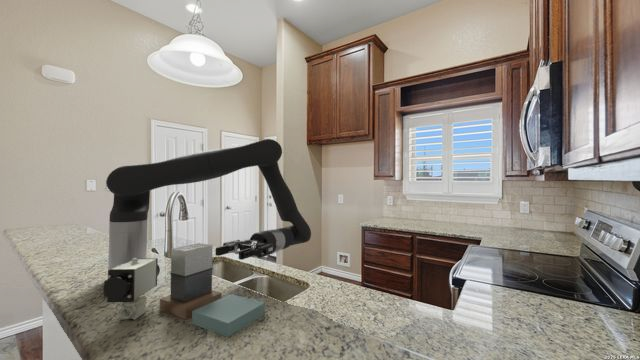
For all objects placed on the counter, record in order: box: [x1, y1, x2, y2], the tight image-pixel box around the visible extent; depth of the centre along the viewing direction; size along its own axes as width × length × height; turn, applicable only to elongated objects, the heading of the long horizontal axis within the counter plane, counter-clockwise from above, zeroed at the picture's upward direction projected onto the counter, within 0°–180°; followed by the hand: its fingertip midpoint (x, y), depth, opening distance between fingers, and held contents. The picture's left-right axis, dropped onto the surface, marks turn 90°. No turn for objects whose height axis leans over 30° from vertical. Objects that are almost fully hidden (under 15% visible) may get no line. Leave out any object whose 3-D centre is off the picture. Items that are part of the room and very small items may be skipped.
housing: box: [169, 242, 214, 303], centre depth 62 cm, size 5×7×11 cm
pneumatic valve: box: [102, 257, 161, 321], centre depth 57 cm, size 6×12×12 cm, turn 3°
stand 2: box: [191, 293, 266, 338], centre depth 56 cm, size 10×10×2 cm
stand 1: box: [159, 289, 222, 321], centre depth 61 cm, size 9×9×2 cm
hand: (227, 253), depth 71 cm, fingers open, 8 cm apart
